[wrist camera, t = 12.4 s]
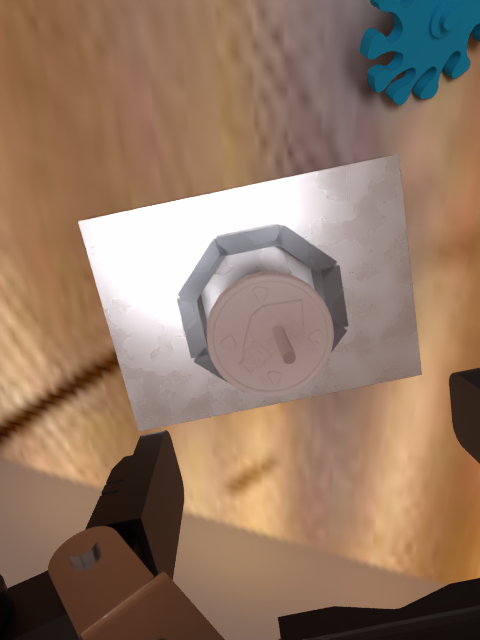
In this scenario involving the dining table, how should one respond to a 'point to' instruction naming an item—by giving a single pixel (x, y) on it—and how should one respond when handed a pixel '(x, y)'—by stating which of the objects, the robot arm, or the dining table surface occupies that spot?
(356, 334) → the hub plate
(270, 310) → the smoothie
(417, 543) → the dining table surface
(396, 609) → the robot arm
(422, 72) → the gear
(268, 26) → the dining table surface
